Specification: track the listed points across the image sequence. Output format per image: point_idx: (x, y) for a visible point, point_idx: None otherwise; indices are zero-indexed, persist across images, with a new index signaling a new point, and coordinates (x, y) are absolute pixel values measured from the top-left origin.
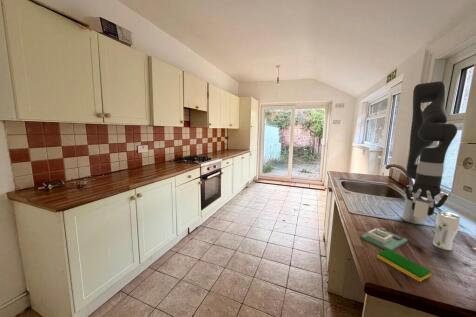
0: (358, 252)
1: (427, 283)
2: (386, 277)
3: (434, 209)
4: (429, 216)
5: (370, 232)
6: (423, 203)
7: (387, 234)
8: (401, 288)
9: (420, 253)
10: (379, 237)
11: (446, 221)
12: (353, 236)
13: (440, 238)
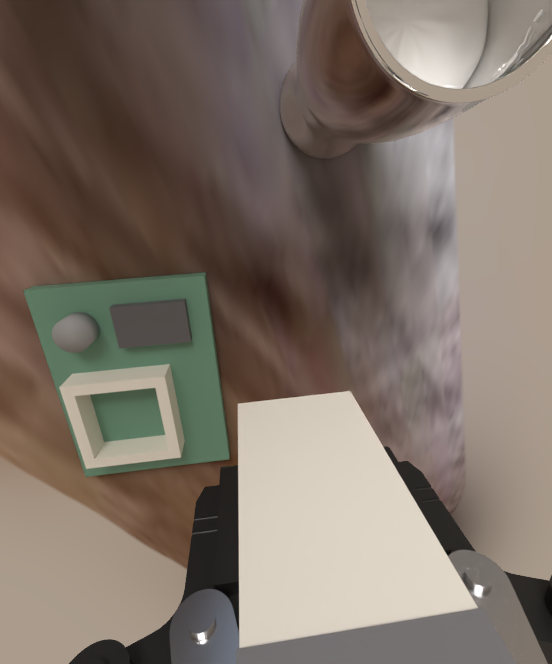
0: (180, 556)
1: None
2: None
3: (454, 522)
4: (355, 404)
5: (97, 462)
6: None
7: (142, 387)
8: None
9: (295, 334)
10: (152, 458)
11: (432, 123)
12: (68, 486)
13: (337, 142)
